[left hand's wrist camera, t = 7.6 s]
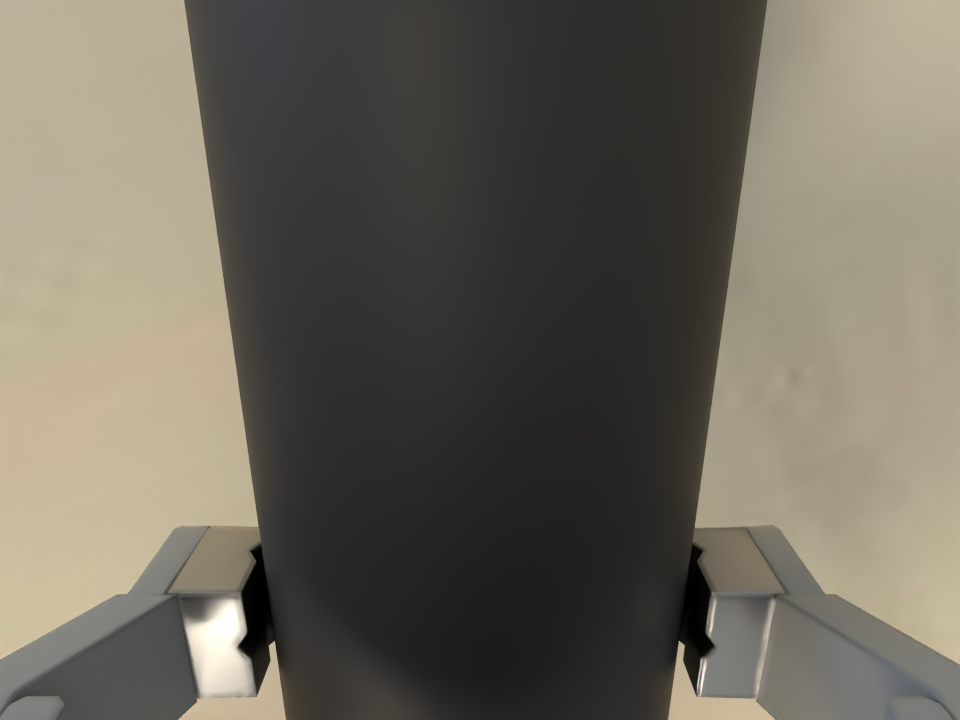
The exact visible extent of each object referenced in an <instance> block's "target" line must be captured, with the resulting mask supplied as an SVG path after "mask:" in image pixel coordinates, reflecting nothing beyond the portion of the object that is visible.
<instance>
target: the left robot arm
mask: <svg viewBox="0 0 960 720" xmlns="http://www.w3.org/2000/svg"><path fill="white" fill-rule="evenodd" d="M274 641H275V637H274V630H273V623H272V616H271V609H270V602H269V595H268V588H267V581H266V574H265V567H264V560H263V553H262V545H261V538H260V531H259V527H236V526H213V527H211V526H180V527H178V528H175V529H174V530H173V531H172V533H171V534H170V535H169V537H168V538H167V540H166V541H165V542H164V544H163V545H162V547H161V548H160V549H159V551H158V552H157V554H156V555H155V556H154V558H153V559H152V561H151V562H150V563H149V565H148V566H147V568H146V569H145V570H144V572H143V573H142V575H141V576H140V577H139V579H138V580H137V581H136V583H135V584H134V586H133V587H132V588H131V590H130V591H129V593H128V594H125V595H115V596H114V597H112V598H110V599H108V600H106V601H105V602H103V603H101V604H99V605H97V606H96V607H94V608H92V609H90V610H89V611H87V612H85V613H83V614H81V615H80V616H78V617H76V618H74V619H72V620H71V621H69V622H67V623H65V624H64V625H62V626H60V627H58V628H56V629H55V630H53V631H51V632H49V633H47V634H46V635H44V636H42V637H40V638H39V639H37V640H35V641H33V642H31V643H30V644H28V645H26V646H24V647H22V648H21V649H19V650H17V651H15V652H14V653H12V654H10V655H8V656H6V657H5V658H3V659H1V660H0V720H178V719H179V718H180V717H181V716H182V715H183V714H184V713H185V712H186V711H187V710H189V709H190V708H191V707H192V706H193V705H194V704H195V703H196V702H197V700H196V698H230V697H257V695H258V692H259V689H260V687H261V684H262V682H263V679H264V676H265V674H266V671H267V668H268V666H269V663H270V652H269V645H270V644H271V643H272V642H274ZM679 641H680V642H682V643H683V644H684V645H685V650H684V657H683V661H684V664H685V667H686V669H687V672H688V675H689V677H690V680H691V683H692V686H693V688H694V691H695V694H696V696H697V697H722V698H757V700H756V701H757V702H758V703H759V704H760V705H761V706H762V707H763V708H764V709H765V710H766V711H767V712H768V713H769V714H770V715H771V716H772V717H773V718H775V719H776V720H960V665H959V664H957V663H956V662H954V661H952V660H950V659H949V658H947V657H945V656H943V655H941V654H940V653H938V652H936V651H934V650H933V649H931V648H929V647H927V646H926V645H924V644H922V643H920V642H919V641H917V640H915V639H913V638H912V637H910V636H908V635H906V634H904V633H903V632H901V631H899V630H897V629H896V628H894V627H892V626H890V625H889V624H887V623H885V622H883V621H882V620H880V619H878V618H876V617H874V616H873V615H871V614H869V613H867V612H866V611H864V610H862V609H860V608H859V607H857V606H855V605H853V604H852V603H850V602H848V601H846V600H844V599H843V598H841V597H839V596H837V595H827V594H825V593H824V592H823V590H822V589H821V587H820V586H819V585H818V583H817V582H816V580H815V579H814V577H813V576H812V575H811V573H810V572H809V570H808V569H807V568H806V566H805V565H804V563H803V562H802V560H801V559H800V558H799V556H798V555H797V553H796V552H795V551H794V549H793V548H792V546H791V545H790V544H789V542H788V541H787V539H786V538H785V536H784V535H783V534H782V532H781V531H780V529H778V528H777V527H775V526H773V525H772V526H742V527H724V528H694V534H693V541H692V548H691V556H690V563H689V570H688V577H687V585H686V592H685V599H684V606H683V614H682V621H681V628H680V635H679Z"/></svg>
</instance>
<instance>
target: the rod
mask: <svg viewBox="0 0 960 720" xmlns="http://www.w3.org/2000/svg"><path fill="white" fill-rule="evenodd" d="M184 1H185V8H186V15H187V22H188V29H189V36H190V44H191V51H192V58H193V65H194V72H195V79H196V86H197V93H198V100H199V107H200V114H201V121H202V128H203V135H204V142H205V150H206V157H207V164H208V171H209V178H210V185H211V192H212V199H213V206H214V213H215V220H216V227H217V234H218V241H219V249H220V256H221V263H222V270H223V277H224V284H225V291H226V298H227V305H228V312H229V319H230V326H231V333H232V340H233V348H234V355H235V362H236V369H237V376H238V383H239V390H240V397H241V404H242V411H243V418H244V425H245V432H246V439H247V446H248V454H249V461H250V468H251V475H252V482H253V489H254V496H255V503H256V510H257V517H258V524H259V531H260V538H261V545H262V553H263V560H264V567H265V574H266V581H267V588H268V595H269V602H270V609H271V616H272V623H273V630H274V637H275V644H276V651H277V659H278V666H279V673H280V680H281V687H282V694H283V701H284V708H285V715H286V720H668V715H669V708H670V701H671V693H672V686H673V679H674V672H675V664H676V657H677V650H678V643H679V635H680V628H681V621H682V614H683V606H684V599H685V592H686V585H687V577H688V570H689V563H690V556H691V548H692V541H693V534H694V527H695V520H696V512H697V505H698V498H699V491H700V483H701V476H702V469H703V462H704V454H705V447H706V440H707V433H708V425H709V418H710V411H711V404H712V396H713V389H714V382H715V375H716V367H717V360H718V353H719V346H720V338H721V331H722V324H723V317H724V309H725V302H726V295H727V288H728V281H729V273H730V266H731V259H732V252H733V244H734V237H735V230H736V223H737V215H738V208H739V201H740V194H741V186H742V179H743V172H744V165H745V157H746V150H747V143H748V136H749V128H750V121H751V114H752V107H753V99H754V92H755V85H756V78H757V70H758V63H759V56H760V49H761V42H762V34H763V27H764V20H765V13H766V5H767V0H184Z"/></svg>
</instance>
